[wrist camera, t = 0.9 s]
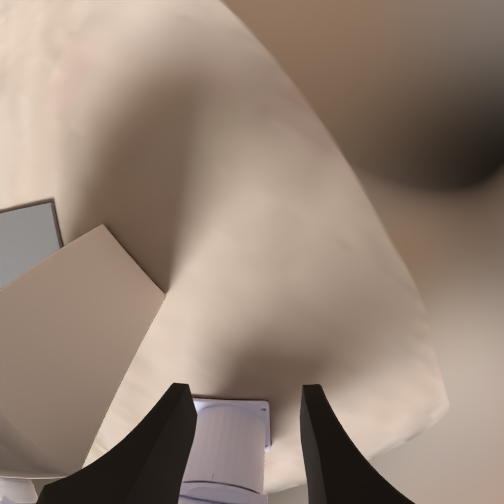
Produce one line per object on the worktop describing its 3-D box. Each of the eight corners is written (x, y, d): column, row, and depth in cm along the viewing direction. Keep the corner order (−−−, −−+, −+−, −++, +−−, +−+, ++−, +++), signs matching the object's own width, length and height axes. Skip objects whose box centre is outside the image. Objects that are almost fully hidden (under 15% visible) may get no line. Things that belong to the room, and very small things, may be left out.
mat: (96, 349, 23) (94, 351, 23) (-11, 326, 25) (-13, 328, 24) (53, 201, 18) (50, 202, 18) (-44, 224, 20) (-46, 225, 20)
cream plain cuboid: (59, 275, 20) (-93, 429, 2) (104, 221, 19) (-119, 399, 1) (114, 337, 22) (13, 527, 4) (168, 294, 21) (52, 555, 3)
